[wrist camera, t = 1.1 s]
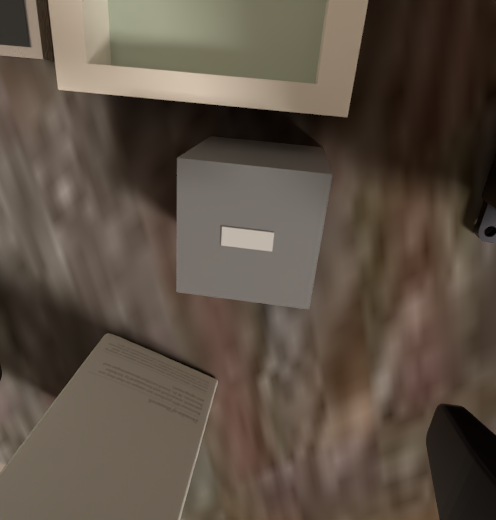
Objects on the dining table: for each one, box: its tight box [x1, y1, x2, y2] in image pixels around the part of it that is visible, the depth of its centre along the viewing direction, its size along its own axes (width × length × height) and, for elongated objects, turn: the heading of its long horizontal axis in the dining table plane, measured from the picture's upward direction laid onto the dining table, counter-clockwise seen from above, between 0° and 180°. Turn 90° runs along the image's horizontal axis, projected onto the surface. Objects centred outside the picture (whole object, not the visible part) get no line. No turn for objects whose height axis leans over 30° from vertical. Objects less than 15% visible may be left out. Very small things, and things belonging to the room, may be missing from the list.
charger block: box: [176, 136, 333, 309], centre depth 16 cm, size 5×5×6 cm
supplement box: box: [0, 333, 218, 520], centre depth 19 cm, size 7×7×13 cm
